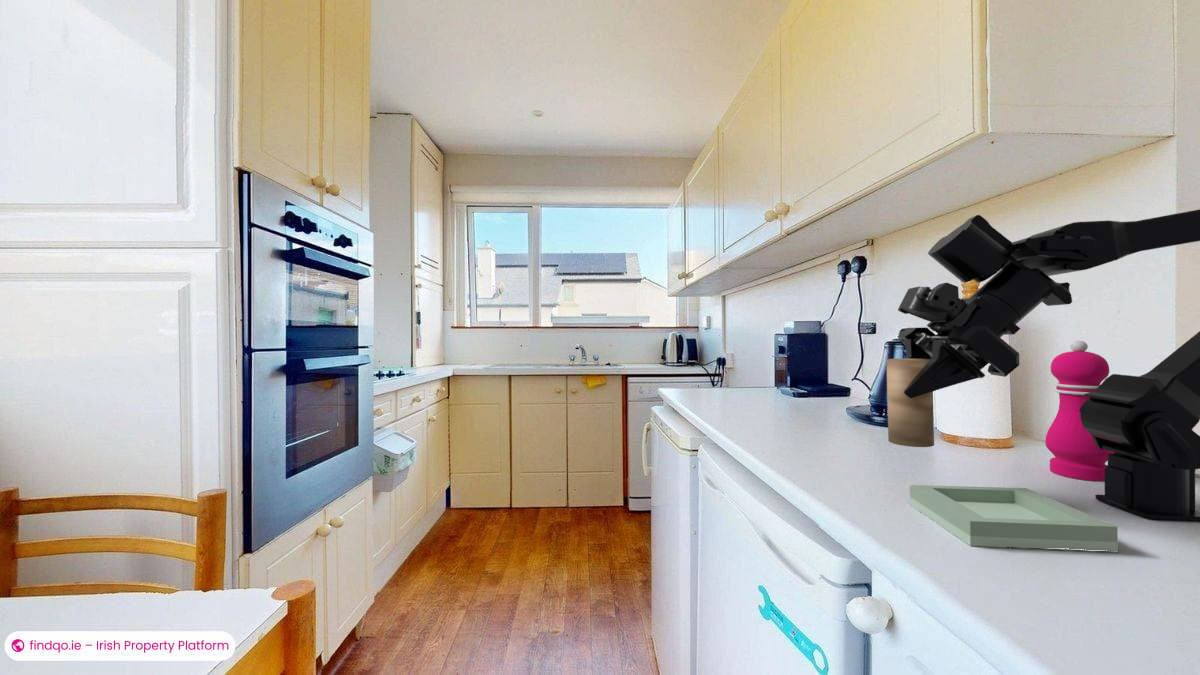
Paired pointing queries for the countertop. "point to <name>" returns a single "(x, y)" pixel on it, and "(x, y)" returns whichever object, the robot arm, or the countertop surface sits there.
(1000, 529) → the socket board
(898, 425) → the walnut leg
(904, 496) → the countertop surface
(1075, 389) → the pepper mill
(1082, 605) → the countertop surface
